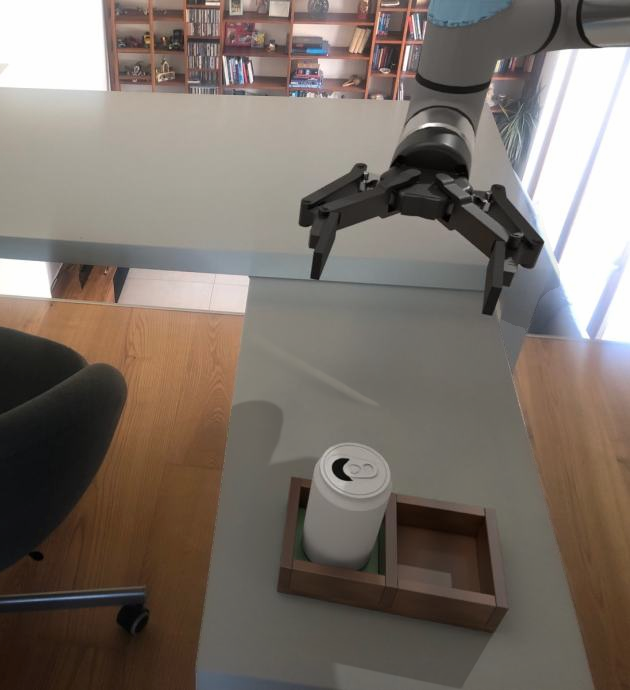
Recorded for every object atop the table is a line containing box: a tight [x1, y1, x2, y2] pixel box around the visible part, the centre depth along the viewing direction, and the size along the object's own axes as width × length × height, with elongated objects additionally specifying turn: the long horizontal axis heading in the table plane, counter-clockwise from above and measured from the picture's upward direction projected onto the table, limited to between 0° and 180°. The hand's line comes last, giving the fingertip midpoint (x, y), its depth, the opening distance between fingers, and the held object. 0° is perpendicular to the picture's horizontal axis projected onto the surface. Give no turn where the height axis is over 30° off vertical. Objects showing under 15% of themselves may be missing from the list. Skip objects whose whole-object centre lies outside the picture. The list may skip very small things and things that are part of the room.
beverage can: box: [302, 441, 393, 571], centre depth 61 cm, size 6×6×12 cm
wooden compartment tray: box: [276, 476, 510, 634], centre depth 63 cm, size 19×10×4 cm, turn 77°
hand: (400, 283), depth 55 cm, fingers open, 13 cm apart
